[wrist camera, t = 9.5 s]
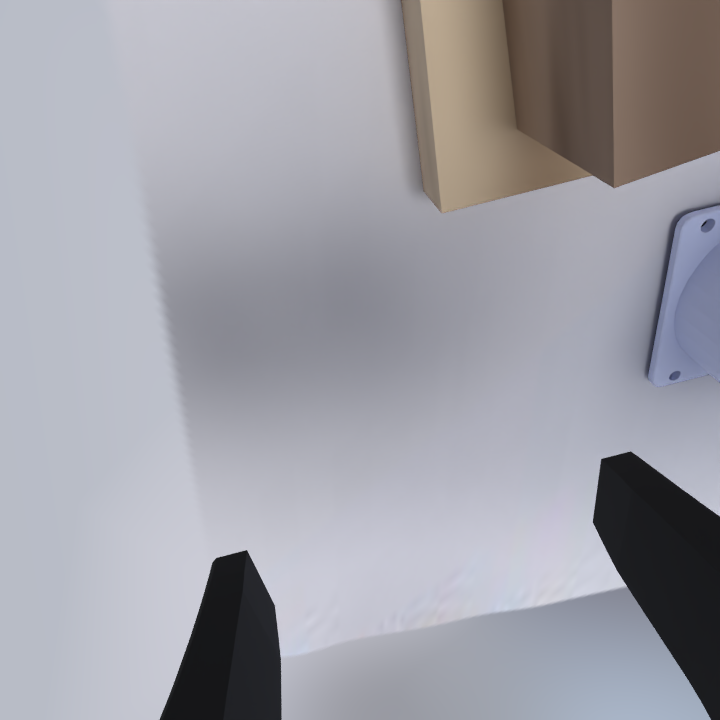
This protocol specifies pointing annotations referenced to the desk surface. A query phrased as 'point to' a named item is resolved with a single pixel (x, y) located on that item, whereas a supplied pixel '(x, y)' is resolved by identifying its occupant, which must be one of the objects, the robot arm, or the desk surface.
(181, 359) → the desk surface
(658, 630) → the robot arm
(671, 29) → the walnut block
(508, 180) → the oak slab
